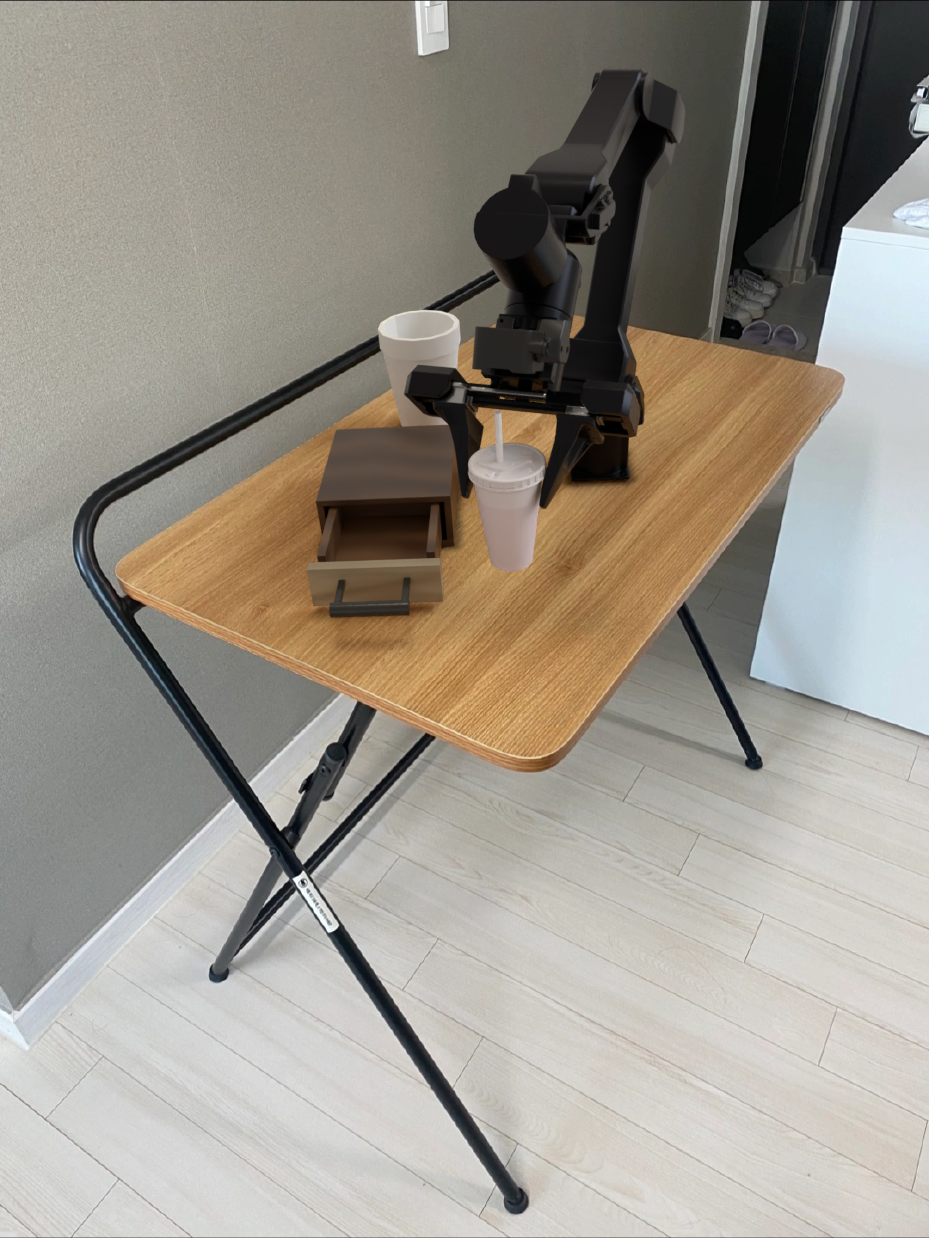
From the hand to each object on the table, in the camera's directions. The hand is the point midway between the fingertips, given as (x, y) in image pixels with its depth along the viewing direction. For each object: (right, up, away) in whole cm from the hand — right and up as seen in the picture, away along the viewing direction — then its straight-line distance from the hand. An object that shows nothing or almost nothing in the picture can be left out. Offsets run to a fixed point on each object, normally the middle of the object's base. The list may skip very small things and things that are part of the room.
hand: (502, 502), depth 78 cm
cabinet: (-11, +3, +26) cm, 28 cm away
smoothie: (+1, -4, +5) cm, 7 cm away
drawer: (-11, -5, +15) cm, 19 cm away
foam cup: (-8, +14, +41) cm, 44 cm away
